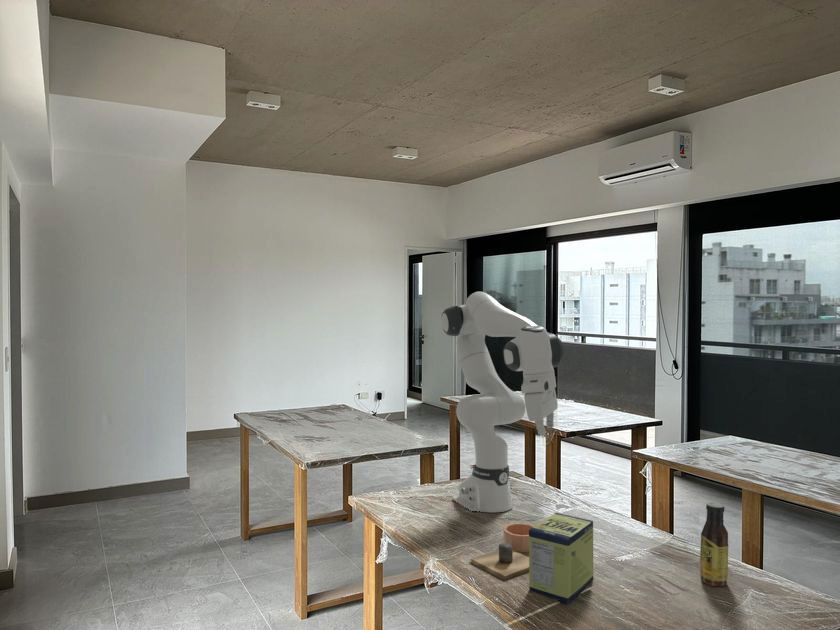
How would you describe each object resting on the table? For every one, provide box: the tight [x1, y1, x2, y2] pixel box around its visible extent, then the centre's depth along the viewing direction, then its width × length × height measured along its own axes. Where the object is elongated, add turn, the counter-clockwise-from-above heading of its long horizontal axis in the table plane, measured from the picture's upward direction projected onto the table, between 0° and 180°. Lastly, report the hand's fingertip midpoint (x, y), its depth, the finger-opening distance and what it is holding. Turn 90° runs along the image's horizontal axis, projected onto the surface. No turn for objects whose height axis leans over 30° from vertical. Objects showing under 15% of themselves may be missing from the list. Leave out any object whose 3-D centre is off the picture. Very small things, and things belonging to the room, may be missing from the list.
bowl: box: [502, 522, 535, 553], centre depth 176 cm, size 10×10×5 cm
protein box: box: [528, 512, 594, 605], centre depth 151 cm, size 10×16×16 cm
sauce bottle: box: [699, 501, 729, 587], centre depth 153 cm, size 7×6×20 cm
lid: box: [470, 543, 529, 580], centre depth 163 cm, size 13×13×5 cm
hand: (546, 431), depth 174 cm, fingers open, 8 cm apart
